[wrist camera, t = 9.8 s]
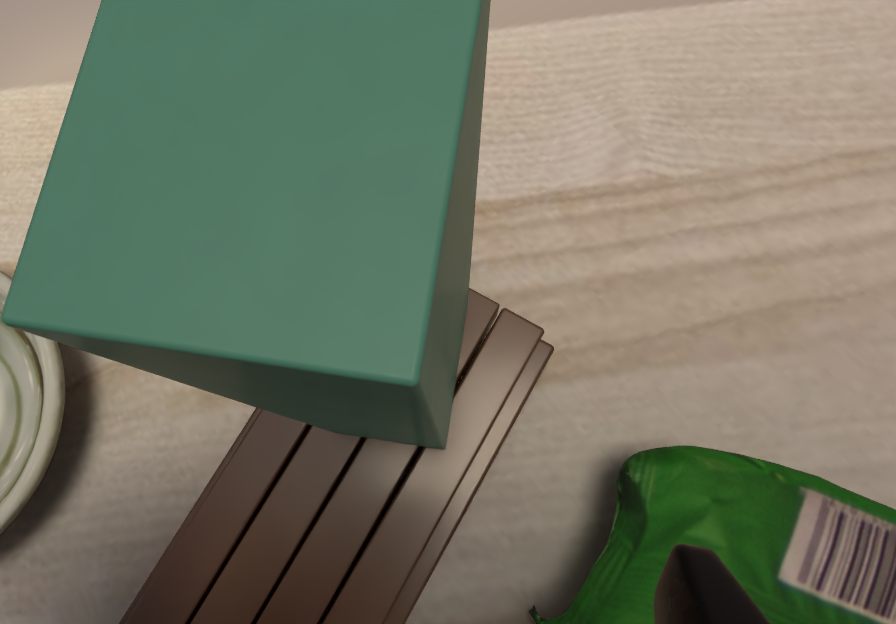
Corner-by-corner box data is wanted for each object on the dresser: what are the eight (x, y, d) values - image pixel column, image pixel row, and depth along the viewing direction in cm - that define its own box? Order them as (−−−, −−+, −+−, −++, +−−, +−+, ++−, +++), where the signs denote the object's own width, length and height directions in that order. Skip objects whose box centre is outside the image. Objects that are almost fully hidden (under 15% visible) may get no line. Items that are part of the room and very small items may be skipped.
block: (445, 449, 17) (416, 387, 4) (331, 432, 17) (-8, 322, 5) (467, 301, 18) (498, -97, 5) (359, 285, 18) (143, -139, 6)
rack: (327, 757, 19) (298, 821, 15) (140, 631, 19) (73, 666, 16) (545, 359, 21) (562, 338, 18) (371, 263, 22) (356, 225, 19)
